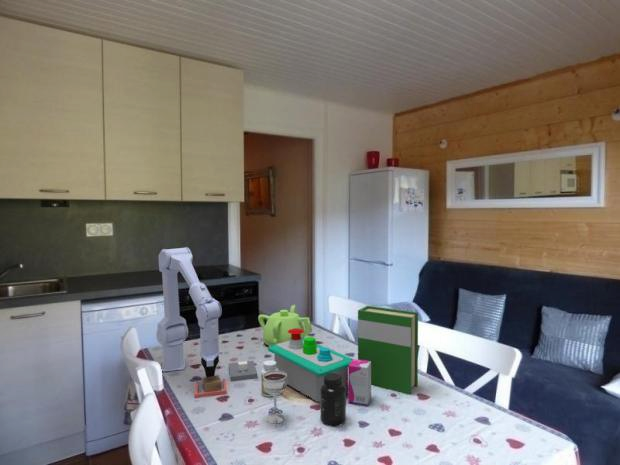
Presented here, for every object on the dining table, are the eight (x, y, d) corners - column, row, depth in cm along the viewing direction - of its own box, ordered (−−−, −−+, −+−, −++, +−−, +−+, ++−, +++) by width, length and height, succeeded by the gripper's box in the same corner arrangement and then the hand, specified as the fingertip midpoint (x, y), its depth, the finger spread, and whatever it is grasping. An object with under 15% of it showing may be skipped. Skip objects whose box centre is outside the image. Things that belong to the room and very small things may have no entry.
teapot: (272, 354, 154) (271, 318, 154) (256, 339, 172) (255, 307, 172) (314, 346, 163) (313, 312, 162) (294, 333, 181) (294, 302, 180)
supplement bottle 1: (276, 397, 118) (275, 366, 118) (259, 396, 119) (258, 365, 119) (281, 389, 123) (280, 359, 123) (264, 388, 125) (264, 358, 124)
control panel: (321, 353, 110) (265, 328, 133) (322, 410, 111) (266, 375, 134) (359, 341, 120) (300, 320, 143) (359, 394, 120) (300, 364, 144)
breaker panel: (228, 367, 142) (228, 363, 141) (253, 364, 144) (253, 360, 144) (230, 381, 130) (230, 376, 130) (257, 378, 132) (257, 373, 132)
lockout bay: (195, 384, 127) (195, 381, 127) (225, 381, 130) (225, 378, 130) (194, 397, 119) (194, 394, 119) (226, 393, 121) (226, 390, 121)
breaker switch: (238, 368, 136) (238, 362, 136) (246, 367, 137) (246, 361, 137) (238, 370, 134) (238, 364, 134) (247, 370, 134) (247, 363, 134)
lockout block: (202, 388, 125) (202, 378, 125) (218, 385, 127) (218, 375, 127) (205, 395, 121) (205, 384, 120) (221, 392, 123) (221, 381, 123)
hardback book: (417, 385, 126) (418, 312, 124) (410, 394, 119) (410, 317, 118) (367, 373, 135) (367, 305, 134) (358, 381, 129) (357, 310, 127)
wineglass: (258, 417, 107) (257, 374, 106) (278, 409, 111) (277, 368, 111) (272, 427, 102) (271, 383, 101) (292, 418, 106) (292, 375, 106)
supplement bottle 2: (316, 416, 107) (316, 374, 107) (338, 411, 110) (338, 369, 109) (327, 429, 101) (327, 384, 100) (350, 423, 104) (350, 379, 103)
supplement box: (371, 397, 118) (371, 360, 117) (367, 406, 112) (367, 368, 112) (353, 394, 120) (353, 358, 119) (348, 403, 114) (348, 365, 114)
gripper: (222, 345, 121) (223, 387, 121) (221, 331, 135) (222, 369, 135) (199, 347, 119) (200, 390, 120) (200, 332, 133) (201, 371, 134)
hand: (210, 379), depth 127 cm, fingers closed
